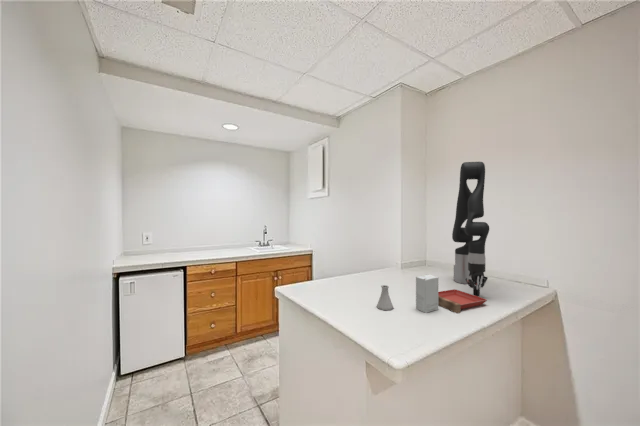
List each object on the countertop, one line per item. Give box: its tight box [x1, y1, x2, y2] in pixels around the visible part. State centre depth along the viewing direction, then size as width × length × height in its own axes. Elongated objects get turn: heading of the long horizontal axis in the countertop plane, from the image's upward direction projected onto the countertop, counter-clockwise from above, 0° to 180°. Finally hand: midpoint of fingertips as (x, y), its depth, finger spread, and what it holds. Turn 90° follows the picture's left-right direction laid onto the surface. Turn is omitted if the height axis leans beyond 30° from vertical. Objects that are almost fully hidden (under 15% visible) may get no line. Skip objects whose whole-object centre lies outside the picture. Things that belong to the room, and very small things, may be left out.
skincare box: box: [415, 274, 439, 314], centre depth 120 cm, size 8×6×15 cm
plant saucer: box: [438, 288, 488, 310], centre depth 129 cm, size 18×18×3 cm
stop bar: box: [438, 296, 462, 314], centre depth 125 cm, size 20×2×4 cm, turn 22°
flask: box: [375, 284, 394, 311], centre depth 122 cm, size 7×7×10 cm
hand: (476, 296), depth 135 cm, fingers closed
